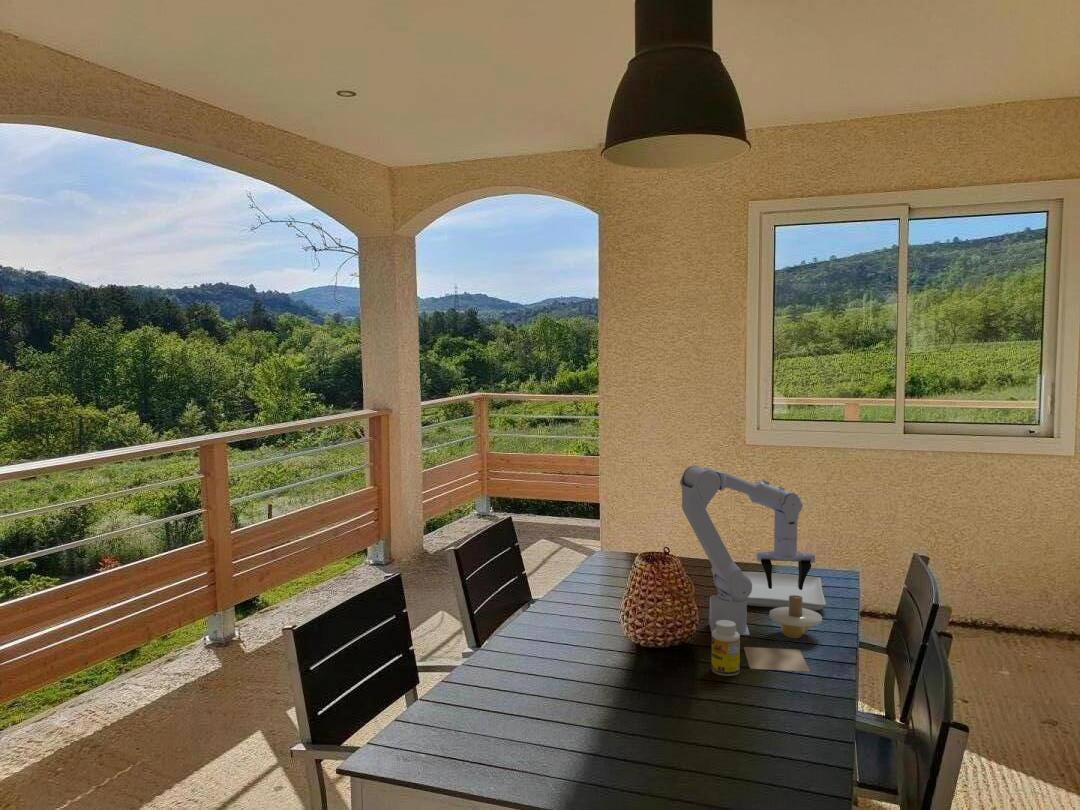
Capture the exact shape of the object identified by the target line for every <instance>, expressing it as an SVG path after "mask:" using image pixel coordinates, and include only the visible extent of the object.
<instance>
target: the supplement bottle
mask: <svg viewBox="0 0 1080 810" xmlns="http://www.w3.org/2000/svg"><path fill="white" fill-rule="evenodd" d="M715 628H716V630H714V631H713V632H712V633H711V671H712V673H715V674H716V675H719V676H720V675H721V676H725V677H726V676H735V675H738V674H739V673H740V669H741V668H740V665H741V659H740V657H741V655H740V654H741V653H740V652H741V648H740V647H741V635H739V633H738V632H736V623H735V622H733V621H729V620H719V621H717V622H716V627H715Z"/></svg>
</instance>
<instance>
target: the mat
mask: <svg viewBox="0 0 1080 810" xmlns="http://www.w3.org/2000/svg"><path fill="white" fill-rule="evenodd" d="M743 649H744V650H743V651H744V653H745V656H746V660H747V664H748V667H749V670H765V671H767V670H768V671H786V672H787V671H788V672H801V673H802V672H804V673H805V672H806V673H807V672H808V673H810V672H811V671H810V669H809V666H808V664H807V662H806V660H805V658H804V656H803V655H802V651H801V650H800V649H795V648H794V649H792V648H776V647H773V648H771V647H755V646H754V647H752V646H751V647H750V646H743Z"/></svg>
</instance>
